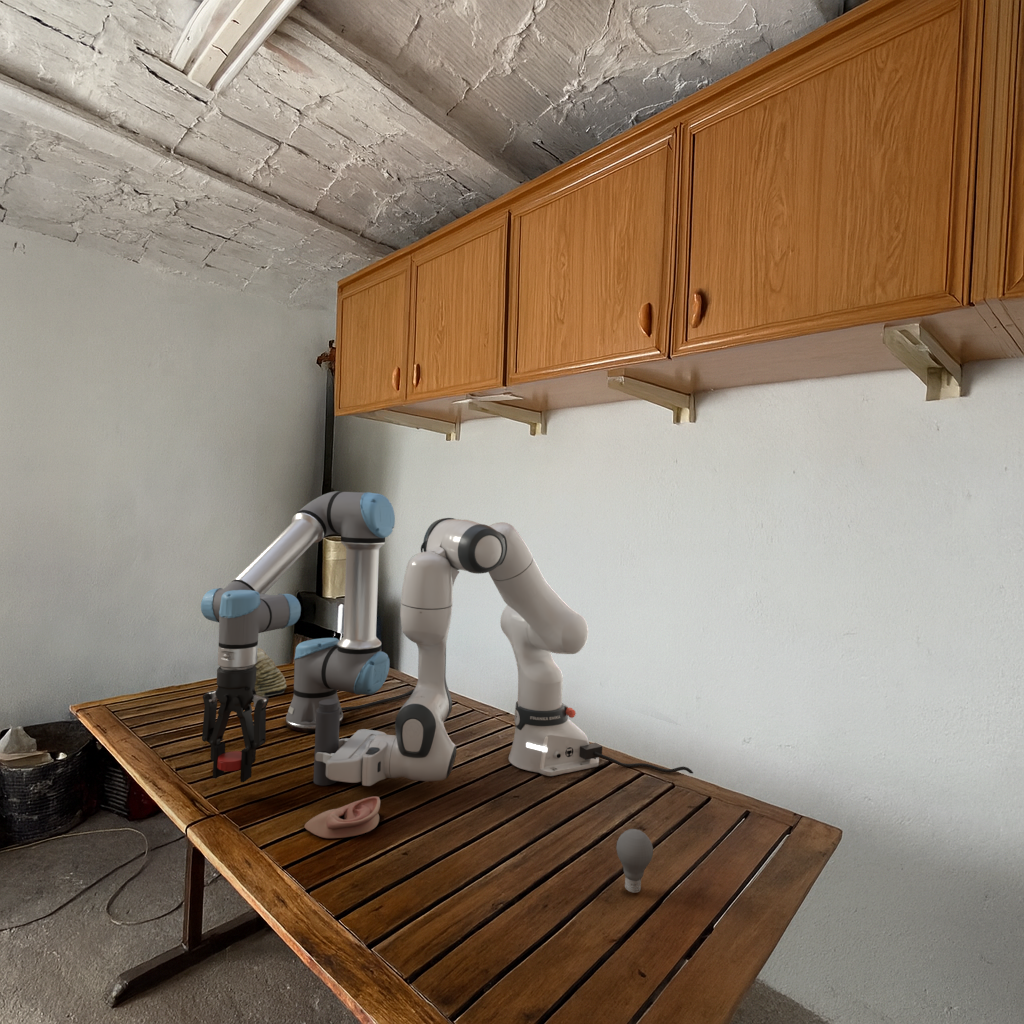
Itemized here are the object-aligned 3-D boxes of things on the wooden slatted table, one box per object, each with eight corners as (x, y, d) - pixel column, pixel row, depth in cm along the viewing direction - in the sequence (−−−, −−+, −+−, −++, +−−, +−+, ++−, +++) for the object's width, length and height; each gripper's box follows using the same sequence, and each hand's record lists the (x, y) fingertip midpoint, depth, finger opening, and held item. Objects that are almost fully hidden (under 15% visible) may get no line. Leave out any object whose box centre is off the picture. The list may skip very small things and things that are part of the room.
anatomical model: (296, 812, 118) (326, 786, 130) (295, 833, 118) (325, 805, 130) (362, 823, 116) (387, 795, 127) (361, 844, 116) (386, 814, 127)
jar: (339, 783, 140) (342, 704, 140) (315, 787, 138) (318, 706, 138) (334, 774, 145) (337, 697, 145) (311, 777, 143) (314, 699, 142)
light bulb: (610, 879, 108) (613, 822, 108) (644, 879, 109) (647, 822, 109) (619, 902, 102) (622, 840, 102) (655, 901, 103) (658, 840, 103)
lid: (246, 770, 129) (246, 760, 129) (215, 772, 127) (216, 762, 127) (248, 759, 135) (248, 750, 135) (218, 761, 133) (219, 752, 133)
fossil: (218, 695, 195) (220, 647, 195) (278, 685, 208) (279, 640, 207) (228, 703, 189) (230, 653, 188) (289, 692, 201) (290, 645, 201)
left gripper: (184, 666, 129) (179, 779, 129) (268, 674, 126) (262, 790, 126) (208, 657, 136) (203, 765, 136) (288, 665, 133) (282, 775, 133)
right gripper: (397, 725, 150) (341, 720, 152) (367, 759, 130) (303, 753, 131) (396, 751, 150) (340, 746, 152) (366, 790, 130) (302, 783, 131)
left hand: (232, 777), depth 131 cm, fingers closed on lid, 5 cm apart
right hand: (322, 749), depth 141 cm, fingers closed on jar, 5 cm apart
